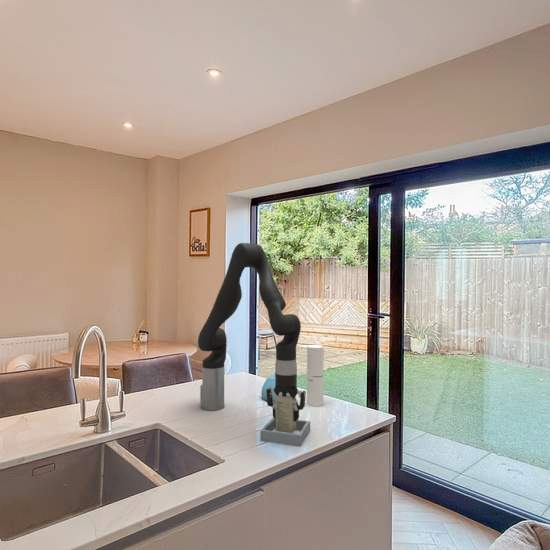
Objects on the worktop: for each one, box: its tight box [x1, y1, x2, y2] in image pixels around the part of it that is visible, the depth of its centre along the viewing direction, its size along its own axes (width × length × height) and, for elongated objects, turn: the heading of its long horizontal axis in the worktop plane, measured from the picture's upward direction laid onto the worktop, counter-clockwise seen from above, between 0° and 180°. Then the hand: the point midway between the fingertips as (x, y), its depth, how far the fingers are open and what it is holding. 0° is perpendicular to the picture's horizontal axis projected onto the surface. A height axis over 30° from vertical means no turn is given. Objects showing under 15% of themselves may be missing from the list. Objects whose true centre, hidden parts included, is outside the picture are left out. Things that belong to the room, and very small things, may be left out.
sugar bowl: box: [261, 374, 276, 402], centre depth 187 cm, size 15×15×12 cm
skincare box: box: [275, 395, 297, 433], centre depth 143 cm, size 6×4×12 cm
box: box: [259, 416, 311, 447], centre depth 143 cm, size 14×14×4 cm
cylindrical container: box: [306, 344, 325, 407], centre depth 179 cm, size 7×7×25 cm
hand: (285, 419), depth 143 cm, fingers closed on skincare box, 6 cm apart
